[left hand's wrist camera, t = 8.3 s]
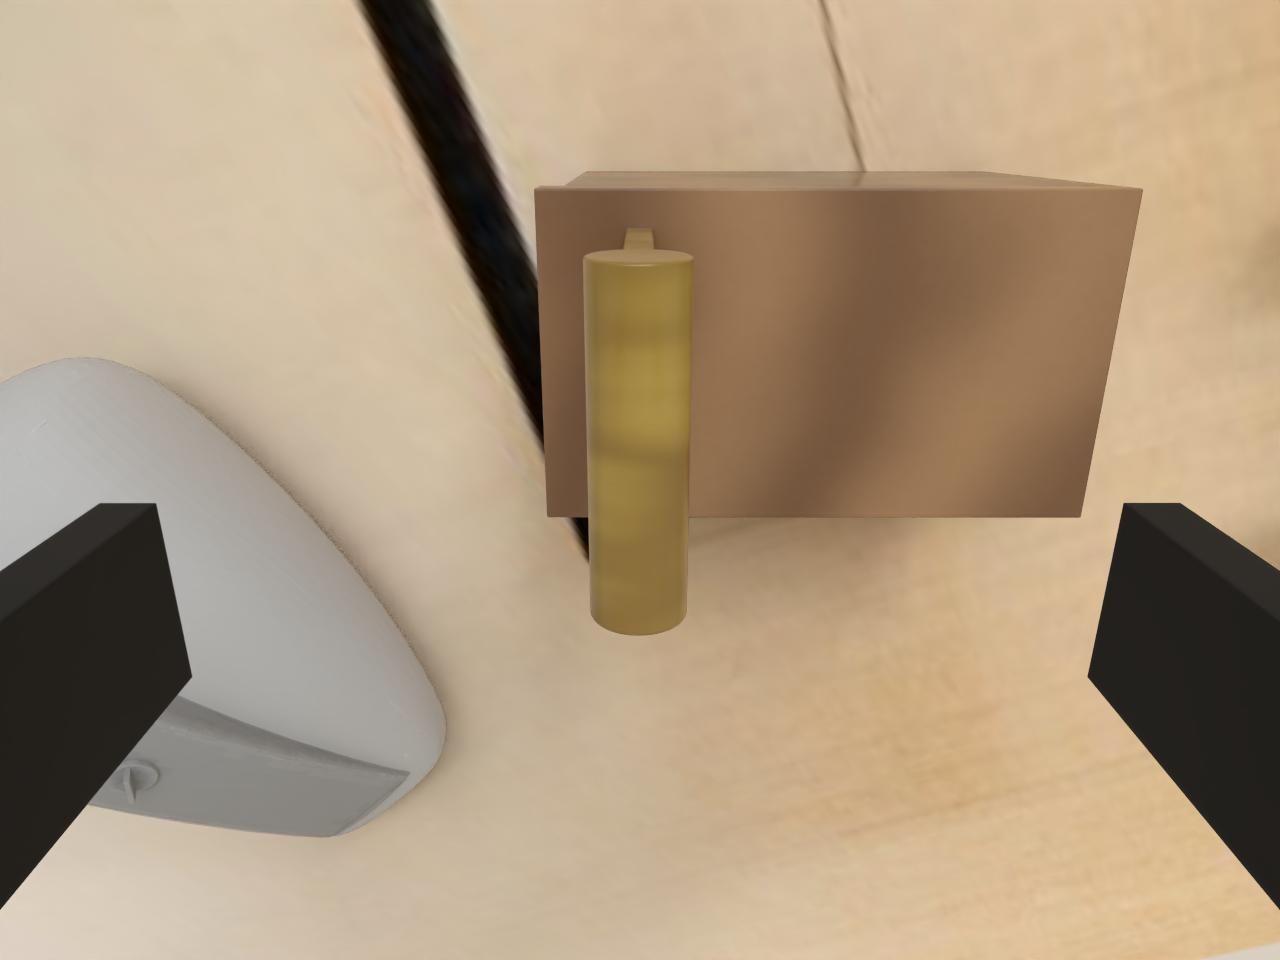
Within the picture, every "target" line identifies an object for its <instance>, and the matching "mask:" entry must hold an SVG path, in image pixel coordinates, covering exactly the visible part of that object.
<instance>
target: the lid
mask: <svg viewBox="0 0 1280 960" xmlns="http://www.w3.org/2000/svg"><path fill="white" fill-rule="evenodd" d="M1142 192H1143V189H1141V188H1131V187H1122V186H540V187H538V188H536V189H535V190H534V196H535V221H536V246H537V271H538V296H539V322H540V347H541V372H542V397H543V422H544V447H545V472H546V497H547V516H548V517H589V563H590V608H591V615H592V617H593V619H594V620H595V622H596V623H597V624H599V625H600V626H601V627H603V628H605V629H607V630H609V631H612V632H616V633H619V634H625V635H652V634H658V633H661V632H665V631H668V630H670V629H672V628H674V627H676V626H677V625H678V624H680V623H681V622H682V620H683V619H684V617H685V615H686V612H687V568H688V521H689V517H1059V518H1079V517H1081V512H1082V507H1083V501H1084V496H1085V491H1086V486H1087V480H1088V475H1089V470H1090V465H1091V459H1092V454H1093V449H1094V444H1095V438H1096V433H1097V428H1098V423H1099V418H1100V412H1101V407H1102V402H1103V397H1104V391H1105V386H1106V381H1107V376H1108V370H1109V365H1110V360H1111V355H1112V349H1113V344H1114V339H1115V334H1116V329H1117V323H1118V318H1119V313H1120V308H1121V302H1122V297H1123V292H1124V287H1125V281H1126V276H1127V271H1128V266H1129V260H1130V255H1131V250H1132V245H1133V240H1134V234H1135V229H1136V224H1137V219H1138V213H1139V208H1140V203H1141V198H1142Z"/></svg>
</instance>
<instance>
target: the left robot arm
mask: <svg viewBox="0 0 1280 960" xmlns="http://www.w3.org/2000/svg"><path fill="white" fill-rule="evenodd" d="M191 678H192V672H191V668H190V663H189V658H188V653H187V648H186V644H185V639H184V634H183V629H182V624H181V620H180V615H179V610H178V605H177V600H176V596H175V591H174V586H173V581H172V576H171V572H170V567H169V562H168V557H167V552H166V548H165V543H164V538H163V533H162V528H161V524H160V519H159V514H158V509H157V504H156V503H99V504H98V505H96V506H95V507H93V508H92V509H90V510H89V511H87V512H86V513H84V514H83V515H82V516H80V517H79V518H77V519H76V520H74V521H73V522H71V523H70V524H68V525H67V526H65V527H64V528H62V529H61V530H60V531H58V532H57V533H55V534H54V535H52V536H51V537H49V538H48V539H46V540H45V541H43V542H42V543H40V544H39V545H38V546H36V547H35V548H33V549H32V550H30V551H29V552H27V553H26V554H24V555H23V556H21V557H20V558H18V559H17V560H16V561H14V562H13V563H11V564H10V565H8V566H7V567H5V568H4V569H2V570H1V571H0V909H1V908H2V907H3V906H4V905H5V903H6V902H7V901H8V900H9V899H10V897H11V896H12V895H13V894H14V892H15V891H16V890H17V889H18V888H19V886H20V885H21V884H22V883H23V882H24V880H25V879H26V878H27V877H28V876H29V874H30V873H31V872H32V871H33V869H34V868H35V867H36V866H37V865H38V863H39V862H40V861H41V860H42V859H43V857H44V856H45V855H46V854H47V852H48V851H49V850H50V849H51V848H52V846H53V845H54V844H55V843H56V842H57V840H58V839H59V838H60V837H61V836H62V834H63V833H64V832H65V831H66V829H67V828H68V827H69V826H70V825H71V823H72V822H73V821H74V820H75V819H76V817H77V816H78V815H79V814H80V813H81V811H82V810H83V809H84V808H85V806H86V805H87V804H88V803H89V802H90V800H91V799H92V798H93V797H94V796H95V794H96V793H97V792H98V791H99V789H100V788H101V787H102V786H103V785H104V783H105V782H106V781H107V780H108V779H109V777H110V776H111V775H112V774H113V773H114V771H115V770H116V769H117V768H118V766H119V765H120V764H121V763H122V762H123V760H124V759H125V758H126V757H127V756H128V754H129V753H130V752H131V751H132V750H133V748H134V747H135V746H136V745H137V743H138V742H139V741H140V740H141V739H142V737H143V736H144V735H145V734H146V733H147V731H148V730H149V729H150V728H151V726H152V725H153V724H154V723H155V722H156V720H157V719H158V718H159V717H160V716H161V714H162V713H163V712H164V711H165V710H166V708H167V707H168V706H169V705H170V703H171V702H172V701H173V700H174V699H175V697H176V696H177V695H178V694H179V693H180V691H181V690H182V689H183V688H184V686H185V685H186V684H187V683H188V682H189V680H190V679H191ZM1088 678H1089V679H1090V680H1091V682H1092V683H1093V684H1094V685H1095V686H1096V688H1097V689H1098V690H1099V691H1100V693H1101V694H1102V695H1103V696H1104V697H1105V699H1106V700H1107V701H1108V702H1109V703H1110V705H1111V706H1112V707H1113V708H1114V710H1115V711H1116V712H1117V713H1118V714H1119V716H1120V717H1121V718H1122V719H1123V720H1124V722H1125V723H1126V724H1127V725H1128V726H1129V728H1130V729H1131V730H1132V731H1133V733H1134V734H1135V735H1136V736H1137V737H1138V739H1139V740H1140V741H1141V742H1142V743H1143V745H1144V746H1145V747H1146V748H1147V750H1148V751H1149V752H1150V753H1151V754H1152V756H1153V757H1154V758H1155V759H1156V760H1157V762H1158V763H1159V764H1160V765H1161V766H1162V768H1163V769H1164V770H1165V771H1166V773H1167V774H1168V775H1169V776H1170V777H1171V779H1172V780H1173V781H1174V782H1175V783H1176V785H1177V786H1178V787H1179V788H1180V789H1181V791H1182V792H1183V793H1184V794H1185V796H1186V797H1187V798H1188V799H1189V800H1190V802H1191V803H1192V804H1193V805H1194V806H1195V808H1196V809H1197V810H1198V811H1199V813H1200V814H1201V815H1202V816H1203V817H1204V819H1205V820H1206V821H1207V822H1208V823H1209V825H1210V826H1211V827H1212V828H1213V829H1214V831H1215V832H1216V833H1217V834H1218V836H1219V837H1220V838H1221V839H1222V840H1223V842H1224V843H1225V844H1226V845H1227V846H1228V848H1229V849H1230V850H1231V851H1232V852H1233V854H1234V855H1235V856H1236V857H1237V859H1238V860H1239V861H1240V862H1241V863H1242V865H1243V866H1244V867H1245V868H1246V869H1247V871H1248V872H1249V873H1250V874H1251V876H1252V877H1253V878H1254V879H1255V880H1256V882H1257V883H1258V884H1259V885H1260V886H1261V888H1262V889H1263V890H1264V891H1265V892H1266V894H1267V895H1268V896H1269V897H1270V899H1271V900H1272V901H1273V902H1274V903H1275V905H1276V906H1277V907H1278V908H1279V909H1280V571H1279V570H1278V569H1276V568H1275V567H1273V566H1272V565H1270V564H1269V563H1267V562H1266V561H1264V560H1263V559H1262V558H1260V557H1259V556H1257V555H1256V554H1254V553H1253V552H1251V551H1250V550H1248V549H1247V548H1245V547H1244V546H1242V545H1241V544H1240V543H1238V542H1237V541H1235V540H1234V539H1232V538H1231V537H1229V536H1228V535H1226V534H1225V533H1223V532H1222V531H1220V530H1219V529H1218V528H1216V527H1215V526H1213V525H1212V524H1210V523H1209V522H1207V521H1206V520H1204V519H1203V518H1201V517H1200V516H1198V515H1197V514H1196V513H1194V512H1193V511H1191V510H1190V509H1188V508H1187V507H1185V506H1184V505H1182V504H1181V503H1124V504H1123V509H1122V514H1121V519H1120V523H1119V528H1118V533H1117V538H1116V543H1115V548H1114V552H1113V557H1112V562H1111V567H1110V572H1109V576H1108V581H1107V586H1106V591H1105V596H1104V600H1103V605H1102V610H1101V615H1100V620H1099V624H1098V629H1097V634H1096V639H1095V644H1094V648H1093V653H1092V658H1091V663H1090V668H1089V672H1088Z"/></svg>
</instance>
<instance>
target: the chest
mask: <svg viewBox="0 0 1280 960" xmlns="http://www.w3.org/2000/svg"><path fill="white" fill-rule="evenodd" d="M565 186H1113V185H1103V184H1094V183H1085V182H1076V181H1066V180H1057V179H1048V178H1039V177H1029V176H1020V175H1011V174H1002V173H991V172H585V173H583V174H582V175H580V176H579V177H577V178H576V179H574V180H573V181H571V182H570V183H568V184H567V185H565Z"/></svg>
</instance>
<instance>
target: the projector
mask: <svg viewBox="0 0 1280 960" xmlns="http://www.w3.org/2000/svg"><path fill="white" fill-rule="evenodd" d="M99 503H156V504H157V509H158V514H159V519H160V524H161V528H162V533H163V538H164V543H165V548H166V552H167V557H168V562H169V567H170V572H171V576H172V581H173V586H174V591H175V596H176V600H177V605H178V610H179V615H180V620H181V624H182V629H183V634H184V639H185V644H186V648H187V653H188V658H189V663H190V668H191V672H192V678H191V679H190V680H189V682H188V683H187V684H186V685H185V686H184V688H183V689H182V690H181V691H180V693H179V694H178V695H177V696H176V697H175V699H174V700H173V701H172V702H171V703H170V705H169V706H168V707H167V708H166V710H165V711H164V712H163V713H162V714H161V716H160V717H159V718H158V719H157V720H156V722H155V723H154V724H153V725H152V726H151V728H150V729H149V730H148V731H147V733H146V734H145V735H144V736H143V737H142V739H141V740H140V741H139V742H138V743H137V745H136V746H135V747H134V748H133V750H132V751H131V752H130V753H129V754H128V756H127V757H126V758H125V759H124V760H123V762H122V763H121V764H120V765H119V766H118V768H117V769H116V770H115V771H114V773H113V774H112V775H111V776H110V777H109V779H108V780H107V781H106V782H105V783H104V785H103V786H102V787H101V788H100V789H99V791H98V792H97V793H96V794H95V796H94V797H93V798H92V799H91V800H90V802H89V803H88V804H87V805H92V806H96V807H101V808H106V809H111V810H116V811H120V812H125V813H130V814H136V815H142V816H148V817H153V818H159V819H165V820H171V821H177V822H183V823H190V824H197V825H204V826H211V827H219V828H226V829H233V830H240V831H248V832H258V833H269V834H279V835H289V836H307V837H331V836H337V835H342V834H345V833H348V832H350V831H353V830H355V829H357V828H359V827H361V826H363V825H365V824H366V823H368V822H369V821H371V820H373V819H374V818H376V817H377V816H379V815H380V814H381V813H383V812H384V811H385V810H387V809H388V808H389V807H391V806H392V805H393V804H395V803H396V802H397V801H398V800H400V799H401V798H402V797H403V796H405V795H406V794H407V793H408V792H409V791H411V790H412V789H413V788H414V787H415V786H416V785H417V784H419V783H420V782H421V781H422V780H423V779H424V778H425V777H426V776H427V774H428V773H429V772H430V771H431V770H432V769H433V767H434V766H435V765H436V763H437V761H438V760H439V758H440V755H441V753H442V750H443V747H444V744H445V737H446V718H445V714H444V711H443V708H442V705H441V703H440V700H439V698H438V696H437V694H436V692H435V689H434V687H433V685H432V684H431V682H430V680H429V678H428V676H427V675H426V673H425V671H424V669H423V667H422V665H421V664H420V662H419V660H418V659H417V657H416V656H415V654H414V652H413V651H412V649H411V648H410V646H409V644H408V643H407V641H406V640H405V638H404V636H403V635H402V633H401V632H400V630H399V629H398V627H397V626H396V624H395V623H394V621H393V620H392V619H391V617H390V616H389V614H388V613H387V611H386V610H385V608H384V607H383V605H382V604H381V603H380V601H379V600H378V598H377V597H376V596H375V594H374V593H373V592H372V590H371V589H370V588H369V586H368V585H367V584H366V582H365V581H364V580H363V579H362V577H361V576H360V575H359V573H358V572H357V571H356V570H355V568H354V567H353V566H352V565H351V564H350V562H349V561H348V560H347V559H346V557H345V556H344V555H343V554H342V552H341V551H340V550H339V549H338V548H337V547H336V546H335V544H334V543H333V542H332V541H331V540H330V539H329V538H328V536H327V535H326V534H325V533H324V532H323V531H322V530H321V529H320V527H319V526H318V525H317V524H316V523H315V522H314V521H313V519H312V518H311V517H310V516H309V515H308V514H307V513H306V512H305V511H304V510H303V509H302V508H301V507H300V506H299V505H298V504H297V503H296V502H295V501H294V500H293V498H292V497H291V496H290V495H289V494H288V493H287V492H286V491H285V490H284V489H283V488H282V487H281V486H280V485H279V484H278V483H277V482H276V481H275V480H274V479H273V478H272V477H271V476H270V475H269V474H268V473H267V472H266V471H265V470H264V469H263V468H262V467H260V466H259V465H258V464H257V463H256V462H255V461H254V460H253V459H252V458H251V457H250V456H249V455H248V454H247V453H246V452H245V451H243V450H242V449H241V448H240V447H239V446H238V445H237V444H236V443H235V442H234V441H233V440H232V439H230V438H229V437H228V436H227V435H226V434H225V433H224V432H223V431H221V430H220V429H219V428H218V427H217V426H216V425H214V424H213V423H212V422H211V421H210V420H208V419H207V418H206V417H205V416H204V415H203V414H201V413H200V412H199V411H198V410H196V409H195V408H194V407H192V406H191V405H190V404H189V403H187V402H186V401H185V400H183V399H182V398H181V397H179V396H178V395H177V394H175V393H174V392H172V391H171V390H169V389H168V388H166V387H165V386H163V385H162V384H160V383H159V382H157V381H156V380H154V379H152V378H150V377H149V376H147V375H145V374H143V373H141V372H139V371H137V370H135V369H133V368H130V367H127V366H125V365H122V364H119V363H116V362H113V361H109V360H104V359H97V358H87V357H86V358H68V359H63V360H57V361H53V362H50V363H47V364H43V365H41V366H38V367H35V368H32V369H29V370H27V371H25V372H23V373H21V374H18V375H16V376H14V377H12V378H10V379H8V380H6V381H5V382H3V383H1V384H0V571H1V570H2V569H4V568H5V567H7V566H8V565H10V564H11V563H13V562H14V561H16V560H17V559H18V558H20V557H21V556H23V555H24V554H26V553H27V552H29V551H30V550H32V549H33V548H35V547H36V546H38V545H39V544H40V543H42V542H43V541H45V540H46V539H48V538H49V537H51V536H52V535H54V534H55V533H57V532H58V531H60V530H61V529H62V528H64V527H65V526H67V525H68V524H70V523H71V522H73V521H74V520H76V519H77V518H79V517H80V516H82V515H83V514H84V513H86V512H87V511H89V510H90V509H92V508H93V507H95V506H96V505H98V504H99Z"/></svg>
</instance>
